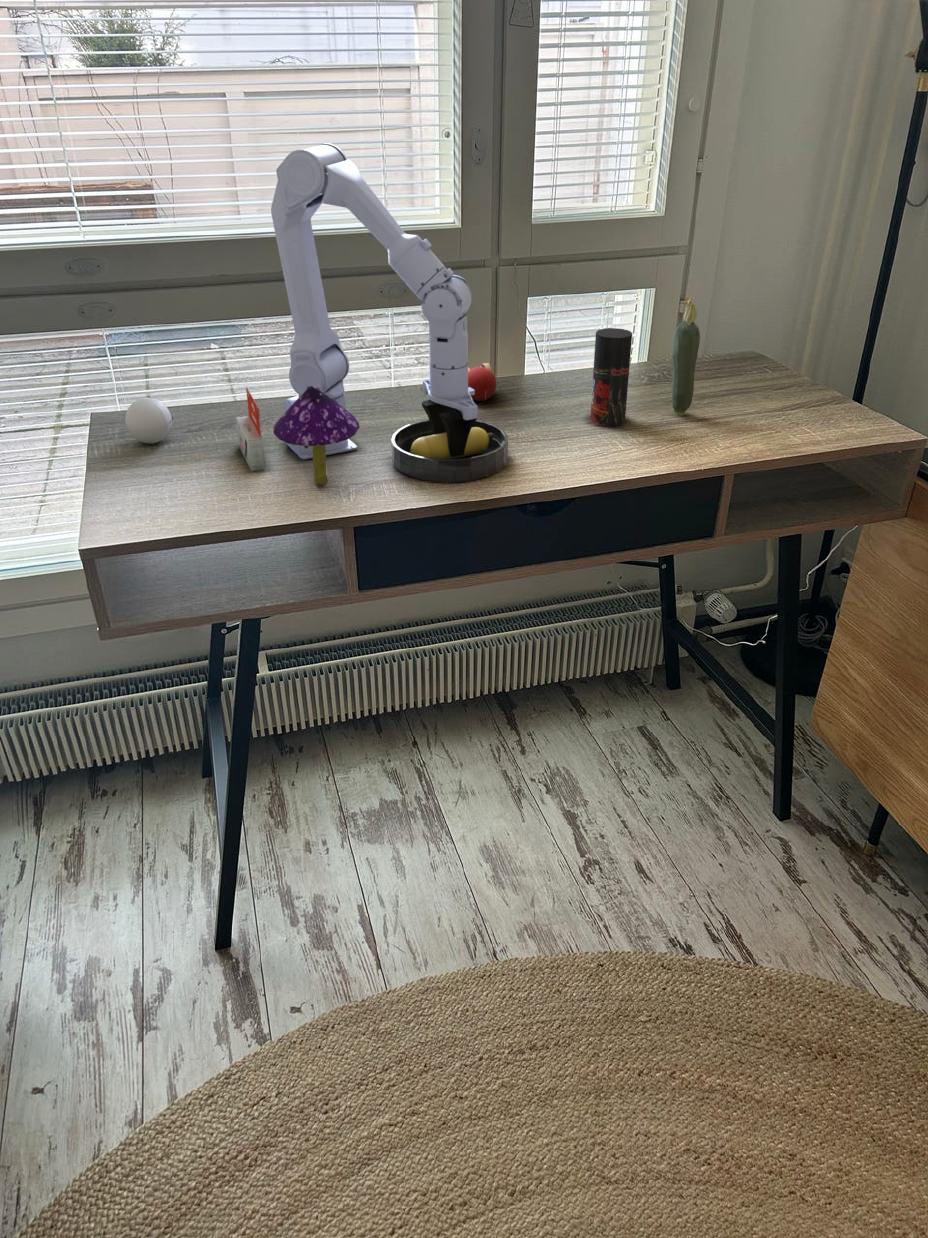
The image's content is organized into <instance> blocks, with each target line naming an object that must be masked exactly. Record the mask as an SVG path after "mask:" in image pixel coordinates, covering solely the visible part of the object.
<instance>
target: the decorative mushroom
mask: <svg viewBox="0 0 928 1238" xmlns="http://www.w3.org/2000/svg"><path fill="white" fill-rule="evenodd" d="M360 428H361V426H360V422H359V421H358V420H357V418H356V417H355V415H354V414H352V413H351V412H349V411H348V410H347V409H344V408H343V407H342V406H341V405H340V404H339V403H338V402H337V401H336V400H334V399H333V398H331V397H329V396H328V395H326V394H325V393H324V392H323V391H322V390H321V389H319V388H318V387H316V386H310V387H309V388H307V390H306V391H305V392H304V393H303V394H302V395H301V396H300V397H299V398H298V399H297V400H296V401H295V402H294V403H293V404H292V405H291V406H290V407H289V408H288V410H287V411H286V412H285V413H283V414H282V415H281V417H280V418H279V419H277V421H276V422H275V424H274V426H273V428H272V433H273V435H274V436H275V437H276V438H277V439H278V440H280V441H282V442H284V443H286V444H287V443H289V444H294V445H302V446H313V458H312V465H313V479H314V482H315V484H316V485H318V486H324V485H326V484H327V483H328V481H329V478H328V472H327V455H326V451H325V450H326V445H328V444H334V443H338V442H341V441H344V440H347V439H349V440H350V439H351V438H352V437H354V436H355V435H356V433H358V431H359V430H360Z"/></svg>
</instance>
